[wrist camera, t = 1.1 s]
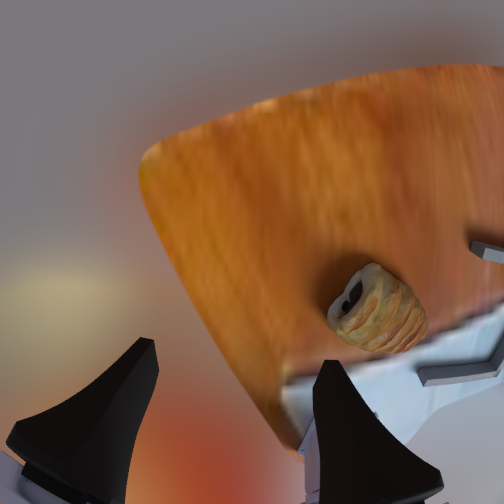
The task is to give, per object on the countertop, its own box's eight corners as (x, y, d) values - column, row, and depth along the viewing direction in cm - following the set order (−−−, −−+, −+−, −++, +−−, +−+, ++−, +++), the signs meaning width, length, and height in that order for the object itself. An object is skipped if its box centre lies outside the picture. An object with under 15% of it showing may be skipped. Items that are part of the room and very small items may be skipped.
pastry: (436, 302, 21) (455, 325, 18) (390, 355, 23) (402, 381, 20) (364, 252, 20) (380, 273, 17) (315, 317, 23) (320, 346, 19)
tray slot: (490, 366, 23) (496, 376, 21) (417, 374, 24) (423, 386, 22) (539, 258, 18) (549, 264, 16) (472, 240, 19) (485, 247, 17)
